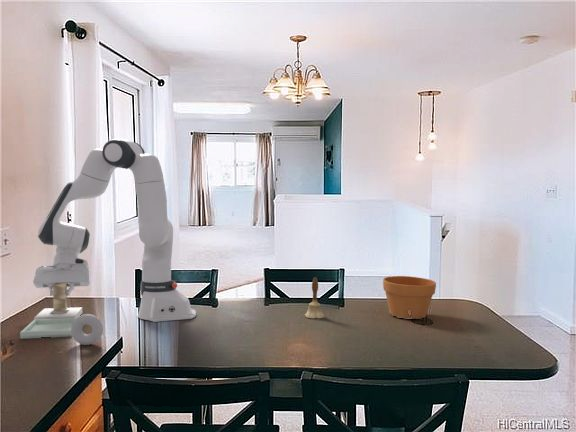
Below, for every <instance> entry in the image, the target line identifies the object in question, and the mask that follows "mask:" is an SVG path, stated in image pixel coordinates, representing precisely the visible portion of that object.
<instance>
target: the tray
mask: <svg viewBox="0 0 576 432" xmlns="http://www.w3.org/2000/svg"><path fill="white" fill-rule="evenodd" d="M75 319H76V318H69V319H40V320H34V319H33V320H32V321H31V322H30V323H29V324H27V326H25V327H24V328H23V329H22V330H21V331H20V333H19V339H21V340H23V339H24V340H25V339H42V338H41V337H51V338H68V337H69V338H73V336H72V334H71V326H72V323H73V322H74V320H75Z"/></svg>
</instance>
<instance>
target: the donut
mask: <svg viewBox="0 0 576 432" xmlns="http://www.w3.org/2000/svg"><path fill="white" fill-rule="evenodd" d="M87 325H88V326H90V328H91V331H90V333H88V334H87V333H85V332H84V331H83V327H84V326H87ZM103 332H104V326H103V323H102V321H101V320H100V319H99V318H98V316H96V315H94V314H91V313H85V314H82V315H81V316H79V317H77V318H76V319H75V320H74V322H73V323H72V326H71V334H72V338H73V340H74V341H75V342H77V343H78V344H80V345H82V346H83V345H84V346H90V344H91V345H94V344H95V343H97V342H98V341H99V340H100V339H101V338H102V335H103Z"/></svg>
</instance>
